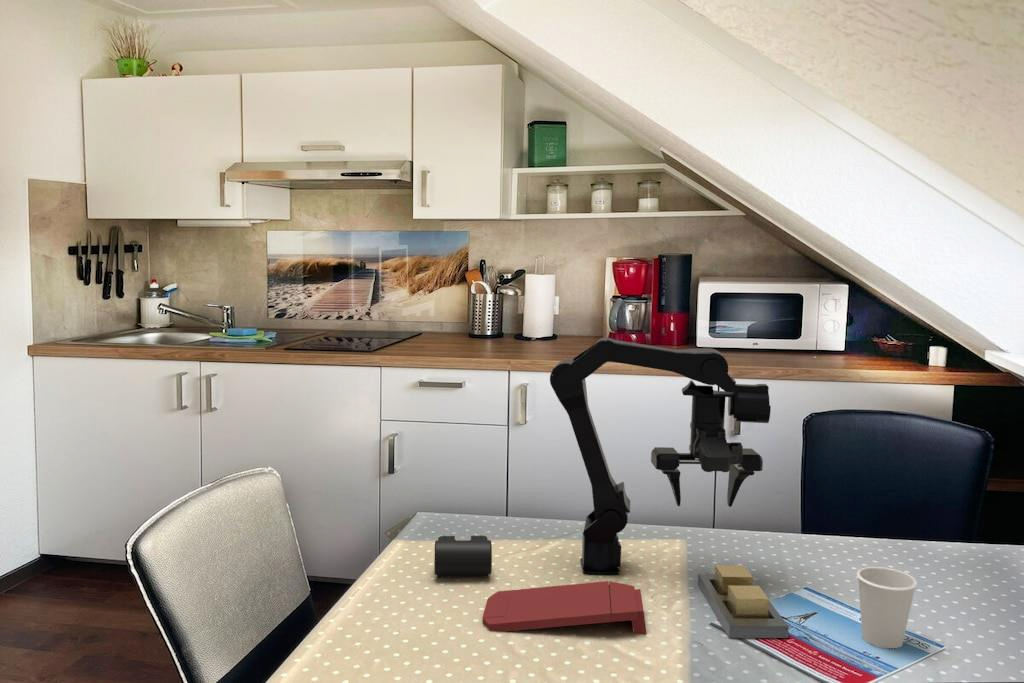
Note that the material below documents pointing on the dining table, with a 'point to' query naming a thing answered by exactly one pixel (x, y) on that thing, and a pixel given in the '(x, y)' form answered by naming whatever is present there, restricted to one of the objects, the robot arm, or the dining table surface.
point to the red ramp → (565, 606)
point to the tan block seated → (731, 577)
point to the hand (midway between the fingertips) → (703, 505)
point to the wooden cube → (747, 602)
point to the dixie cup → (885, 605)
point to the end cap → (463, 557)
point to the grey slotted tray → (740, 626)
